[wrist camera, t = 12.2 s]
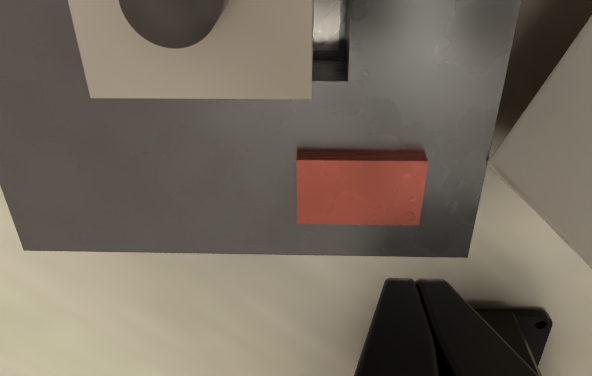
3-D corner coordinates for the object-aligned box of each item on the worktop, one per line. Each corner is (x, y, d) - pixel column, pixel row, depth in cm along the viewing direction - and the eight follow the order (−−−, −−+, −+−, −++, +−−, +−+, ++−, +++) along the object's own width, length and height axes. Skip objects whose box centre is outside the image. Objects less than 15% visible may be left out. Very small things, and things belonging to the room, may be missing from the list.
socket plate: (449, 209, 21) (471, 268, 18) (58, 204, 22) (16, 260, 19) (545, -338, 13) (618, -400, 10) (-100, -324, 13) (-224, -379, 10)
